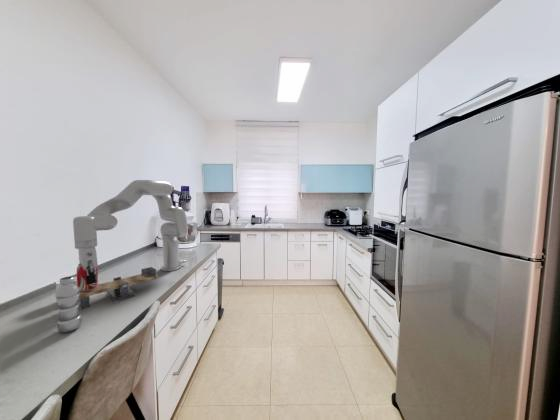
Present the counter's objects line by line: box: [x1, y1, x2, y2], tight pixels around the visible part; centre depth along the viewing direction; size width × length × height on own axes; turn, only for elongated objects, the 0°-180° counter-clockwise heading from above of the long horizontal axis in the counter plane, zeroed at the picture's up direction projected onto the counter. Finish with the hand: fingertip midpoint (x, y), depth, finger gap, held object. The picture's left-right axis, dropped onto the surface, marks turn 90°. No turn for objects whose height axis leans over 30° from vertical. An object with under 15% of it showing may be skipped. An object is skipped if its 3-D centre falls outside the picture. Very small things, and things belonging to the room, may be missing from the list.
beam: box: [79, 266, 159, 299], centre depth 108 cm, size 32×8×4 cm, turn 142°
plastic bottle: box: [54, 275, 83, 334], centre depth 80 cm, size 6×7×20 cm
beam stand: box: [78, 276, 136, 310], centre depth 104 cm, size 20×13×8 cm, turn 142°
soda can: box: [76, 263, 99, 291], centre depth 98 cm, size 7×7×12 cm
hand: (88, 280), depth 98 cm, fingers open, 9 cm apart
